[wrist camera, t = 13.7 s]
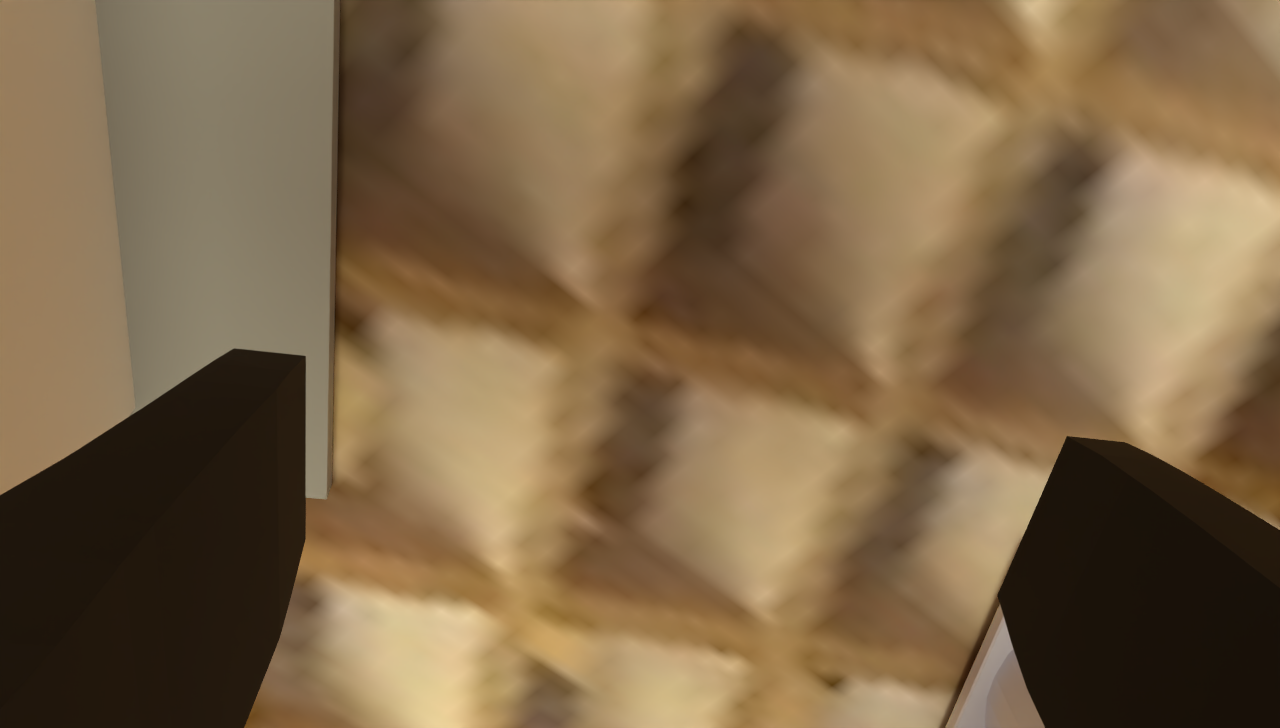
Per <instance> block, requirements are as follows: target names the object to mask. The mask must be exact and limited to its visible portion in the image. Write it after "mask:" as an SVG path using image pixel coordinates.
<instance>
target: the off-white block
mask: <svg viewBox="0 0 1280 728" xmlns="http://www.w3.org/2000/svg"><path fill="white" fill-rule="evenodd" d="M134 409H135V397H134V387H133V377H132V367H131V357H130V347H129V337H128V327H127V316H126V306H125V296H124V286H123V276H122V266H121V256H120V246H119V236H118V226H117V216H116V206H115V195H114V185H113V175H112V165H111V155H110V145H109V135H108V125H107V115H106V105H105V95H104V84H103V74H102V64H101V54H100V44H99V34H98V24H97V14H96V4H95V0H0V495H1V494H3V493H5V492H6V491H8V490H10V489H12V488H13V487H15V486H17V485H19V484H20V483H22V482H24V481H26V480H27V479H29V478H31V477H32V476H34V475H36V474H38V473H39V472H41V471H43V470H45V469H46V468H48V467H50V466H52V465H53V464H55V463H57V462H58V461H60V460H62V459H64V458H65V457H67V456H68V455H70V454H72V453H73V452H75V451H76V450H78V449H80V448H81V447H83V446H84V445H86V444H87V443H89V442H90V441H92V440H94V439H95V438H97V437H98V436H100V435H101V434H103V433H104V432H106V431H108V430H109V429H111V428H112V427H114V426H115V425H117V424H118V423H120V422H122V421H123V420H125V419H126V418H128V417H129V416H130V414H131V413H132V412H133V410H134Z"/></svg>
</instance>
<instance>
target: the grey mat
mask: <svg viewBox="0 0 1280 728" xmlns="http://www.w3.org/2000/svg"><path fill="white" fill-rule="evenodd" d="M95 4H96V14H97V24H98V34H99V44H100V54H101V64H102V74H103V84H104V95H105V105H106V115H107V125H108V135H109V145H110V155H111V165H112V175H113V185H114V195H115V206H116V216H117V226H118V236H119V246H120V256H121V266H122V276H123V286H124V296H125V306H126V316H127V327H128V337H129V347H130V357H131V367H132V377H133V387H134V397H135V409H134V410H133V412H132V413H131V414H130V416H131V415H132V414H134V413H136V412H137V411H139V410H140V409H142V408H143V407H145V406H146V405H148V404H149V403H151V402H152V401H154V400H155V399H157V398H158V397H160V396H161V395H163V394H164V393H166V392H167V391H169V390H170V389H172V388H173V387H175V386H176V385H178V384H179V383H181V382H182V381H184V380H185V379H187V378H188V377H190V376H191V375H193V374H194V373H196V372H197V371H199V370H200V369H202V368H203V367H205V366H206V365H208V364H209V363H211V362H212V361H214V360H216V359H217V358H219V357H220V356H222V355H224V354H225V353H227V352H229V351H230V350H232V349H234V348H236V349H246V350H255V351H265V352H274V353H284V354H293V355H303V356H306V498H318V499H327V497H328V494H329V491H330V488H331V485H332V442H333V385H334V328H335V271H336V214H337V157H338V100H339V42H340V0H95Z"/></svg>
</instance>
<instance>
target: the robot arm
mask: <svg viewBox="0 0 1280 728" xmlns="http://www.w3.org/2000/svg"><path fill="white" fill-rule="evenodd" d="M305 519H306V356H303V355H293V354H284V353H274V352H265V351H255V350H246V349H236V348H234V349H232V350H230V351H229V352H227V353H225V354H224V355H222V356H220V357H219V358H217V359H216V360H214V361H212V362H211V363H209V364H208V365H206V366H205V367H203V368H202V369H200V370H199V371H197V372H196V373H194V374H193V375H191V376H190V377H188V378H187V379H185V380H184V381H182V382H181V383H179V384H178V385H176V386H175V387H173V388H172V389H170V390H169V391H167V392H166V393H164V394H163V395H161V396H160V397H158V398H157V399H155V400H154V401H152V402H151V403H149V404H148V405H146V406H145V407H143V408H142V409H140V410H139V411H137V412H136V413H134V414H132V415H131V416H129V417H128V418H126V419H125V420H123V421H122V422H120V423H118V424H117V425H115V426H114V427H112V428H111V429H109V430H108V431H106V432H104V433H103V434H101V435H100V436H98V437H97V438H95V439H94V440H92V441H90V442H89V443H87V444H86V445H84V446H83V447H81V448H80V449H78V450H76V451H75V452H73V453H72V454H70V455H68V456H67V457H65V458H64V459H62V460H60V461H58V462H57V463H55V464H53V465H52V466H50V467H48V468H46V469H45V470H43V471H41V472H39V473H38V474H36V475H34V476H32V477H31V478H29V479H27V480H26V481H24V482H22V483H20V484H19V485H17V486H15V487H13V488H12V489H10V490H8V491H6V492H5V493H3V494H1V495H0V728H244V726H245V724H246V721H247V719H248V717H249V714H250V711H251V709H252V706H253V704H254V701H255V699H256V696H257V694H258V691H259V689H260V686H261V684H262V681H263V679H264V676H265V674H266V671H267V669H268V666H269V664H270V661H271V659H272V656H273V653H274V651H275V648H276V646H277V643H278V641H279V638H280V635H281V631H282V627H283V624H284V620H285V616H286V613H287V609H288V605H289V601H290V598H291V594H292V590H293V586H294V582H295V578H296V574H297V570H298V566H299V562H300V558H301V554H302V551H303V547H304V543H305ZM998 599H999V602H1000V605H999V607H998V609H997V611H996V614H995V616H994V618H993V620H992V623H991V625H990V627H989V629H988V632H987V634H986V636H985V639H984V641H983V643H982V645H981V648H980V650H979V652H978V654H977V657H976V659H975V661H974V664H973V666H972V668H971V670H970V673H969V675H968V677H967V679H966V682H965V684H964V686H963V689H962V691H961V693H960V695H959V698H958V700H957V702H956V704H955V707H954V709H953V711H952V713H951V716H950V718H949V720H948V723H947V725H946V727H945V728H1280V530H1278V529H1277V528H1275V527H1274V526H1272V525H1270V524H1269V523H1267V522H1266V521H1264V520H1262V519H1261V518H1259V517H1257V516H1256V515H1254V514H1252V513H1251V512H1249V511H1248V510H1246V509H1244V508H1243V507H1241V506H1239V505H1238V504H1236V503H1235V502H1233V501H1231V500H1230V499H1228V498H1226V497H1225V496H1223V495H1221V494H1220V493H1218V492H1216V491H1215V490H1213V489H1211V488H1210V487H1208V486H1206V485H1205V484H1203V483H1201V482H1200V481H1198V480H1196V479H1194V478H1193V477H1191V476H1189V475H1187V474H1186V473H1184V472H1182V471H1181V470H1179V469H1177V468H1175V467H1173V466H1172V465H1170V464H1168V463H1166V462H1164V461H1162V460H1161V459H1159V458H1157V457H1155V456H1153V455H1151V454H1149V453H1147V452H1145V451H1143V450H1140V449H1138V448H1136V447H1134V446H1132V445H1130V444H1128V443H1125V442H1117V441H1107V440H1098V439H1088V438H1079V437H1069V436H1067V437H1066V440H1065V442H1064V444H1063V447H1062V449H1061V451H1060V454H1059V456H1058V458H1057V460H1056V463H1055V465H1054V467H1053V470H1052V472H1051V474H1050V476H1049V479H1048V481H1047V483H1046V486H1045V488H1044V490H1043V492H1042V495H1041V497H1040V499H1039V502H1038V504H1037V506H1036V508H1035V511H1034V513H1033V515H1032V518H1031V520H1030V522H1029V525H1028V527H1027V529H1026V531H1025V534H1024V536H1023V538H1022V541H1021V543H1020V545H1019V547H1018V550H1017V552H1016V554H1015V557H1014V559H1013V561H1012V563H1011V566H1010V568H1009V570H1008V573H1007V575H1006V577H1005V579H1004V582H1003V584H1002V586H1001V589H1000V591H999V593H998Z"/></svg>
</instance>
